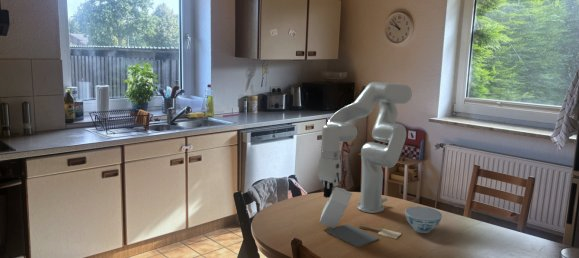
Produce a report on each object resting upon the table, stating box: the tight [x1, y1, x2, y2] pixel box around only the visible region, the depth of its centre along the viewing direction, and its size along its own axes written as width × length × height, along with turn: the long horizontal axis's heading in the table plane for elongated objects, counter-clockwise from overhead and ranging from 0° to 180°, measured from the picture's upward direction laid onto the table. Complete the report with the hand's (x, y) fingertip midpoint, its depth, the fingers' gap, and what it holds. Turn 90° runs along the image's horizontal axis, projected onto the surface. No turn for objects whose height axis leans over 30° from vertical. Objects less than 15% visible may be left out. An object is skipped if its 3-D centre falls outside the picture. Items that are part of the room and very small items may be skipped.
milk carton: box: [319, 186, 353, 229], centre depth 204 cm, size 7×7×19 cm
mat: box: [326, 223, 380, 248], centre depth 200 cm, size 12×18×1 cm, turn 38°
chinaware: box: [404, 205, 443, 234], centre depth 207 cm, size 15×15×8 cm
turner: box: [358, 224, 402, 240], centre depth 204 cm, size 6×17×1 cm, turn 58°
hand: (327, 196), depth 207 cm, fingers closed
